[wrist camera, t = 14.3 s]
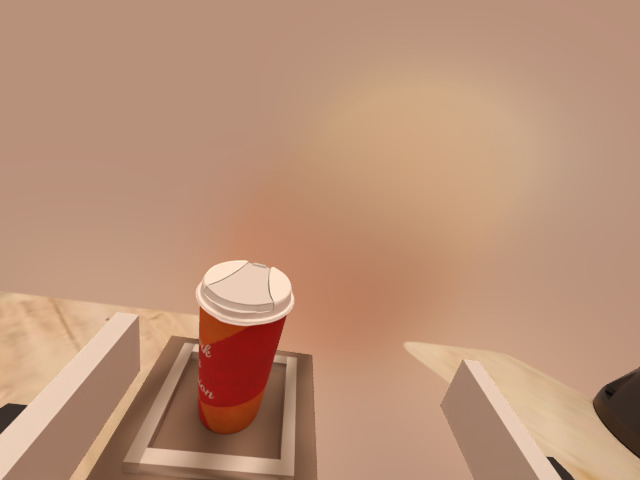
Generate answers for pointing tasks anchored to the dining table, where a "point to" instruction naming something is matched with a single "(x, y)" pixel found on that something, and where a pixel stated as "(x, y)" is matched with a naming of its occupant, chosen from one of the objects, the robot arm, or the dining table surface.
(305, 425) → the walnut board
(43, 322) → the dining table surface
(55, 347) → the dining table surface
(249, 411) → the coffee cup
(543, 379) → the dining table surface
